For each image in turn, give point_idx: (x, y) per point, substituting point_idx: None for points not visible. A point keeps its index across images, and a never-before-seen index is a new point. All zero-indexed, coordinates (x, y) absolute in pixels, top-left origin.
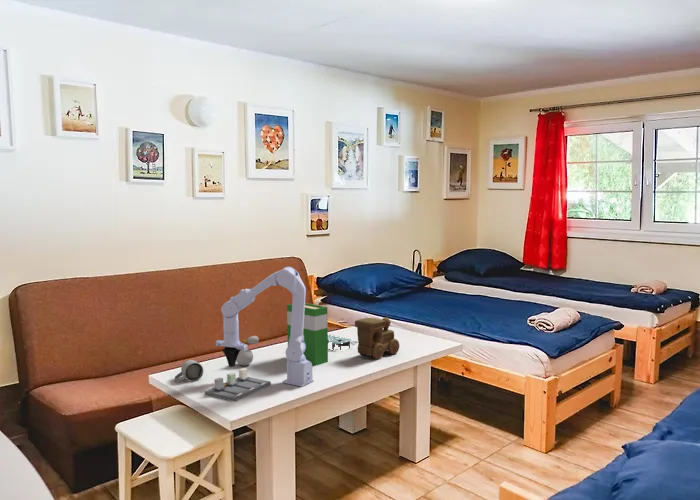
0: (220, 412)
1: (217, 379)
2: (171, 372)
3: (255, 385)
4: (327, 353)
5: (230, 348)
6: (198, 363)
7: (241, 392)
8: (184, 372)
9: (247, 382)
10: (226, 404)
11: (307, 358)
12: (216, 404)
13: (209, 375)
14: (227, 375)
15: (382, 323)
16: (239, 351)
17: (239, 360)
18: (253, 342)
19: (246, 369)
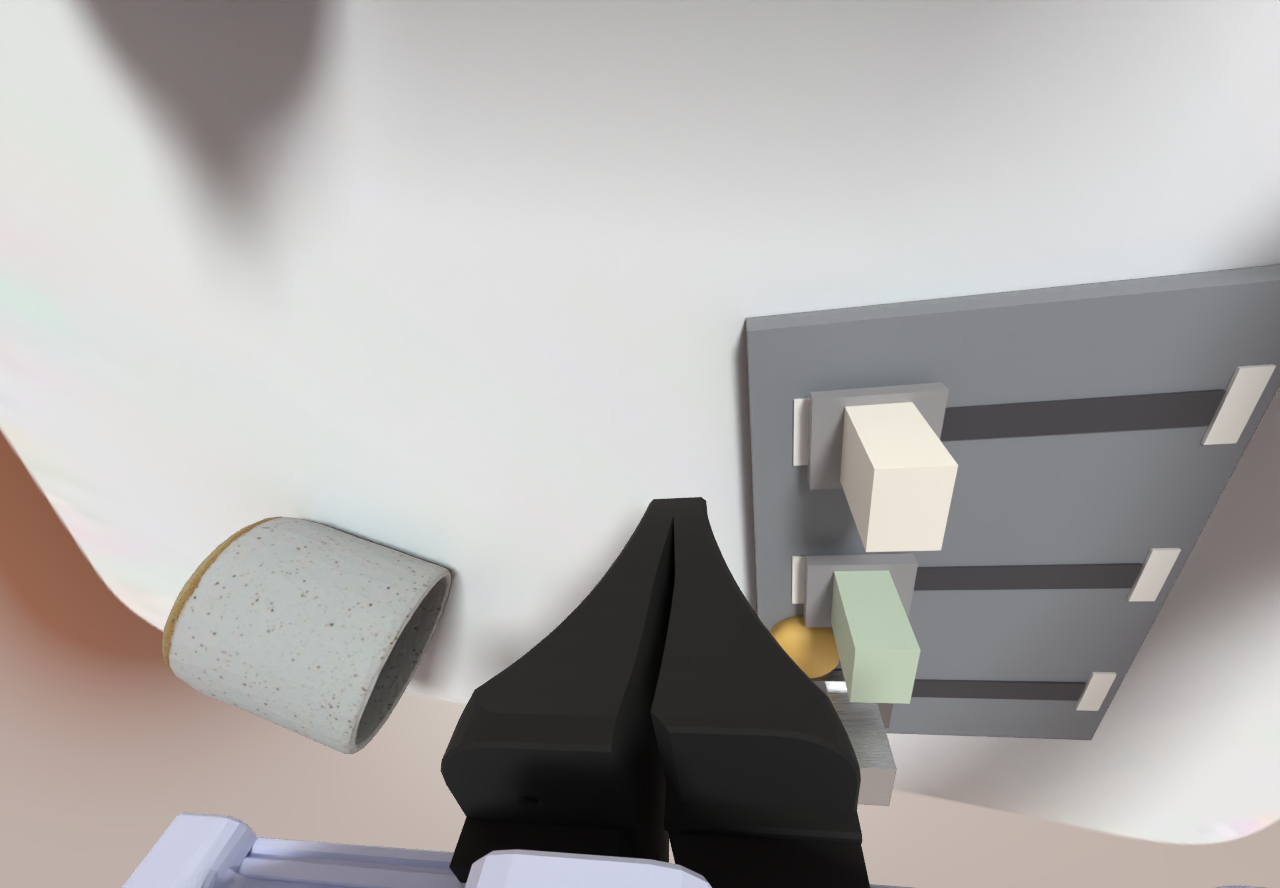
0: (1082, 820)
1: (867, 796)
2: (114, 543)
3: (1145, 489)
4: None
5: (635, 857)
6: (365, 704)
7: (1086, 659)
8: (388, 708)
9: (981, 467)
10: (1044, 753)
11: None
12: (971, 769)
13: (372, 438)
14: (854, 692)
15: None
16: (806, 683)
17: None
18: None
19: (953, 475)
